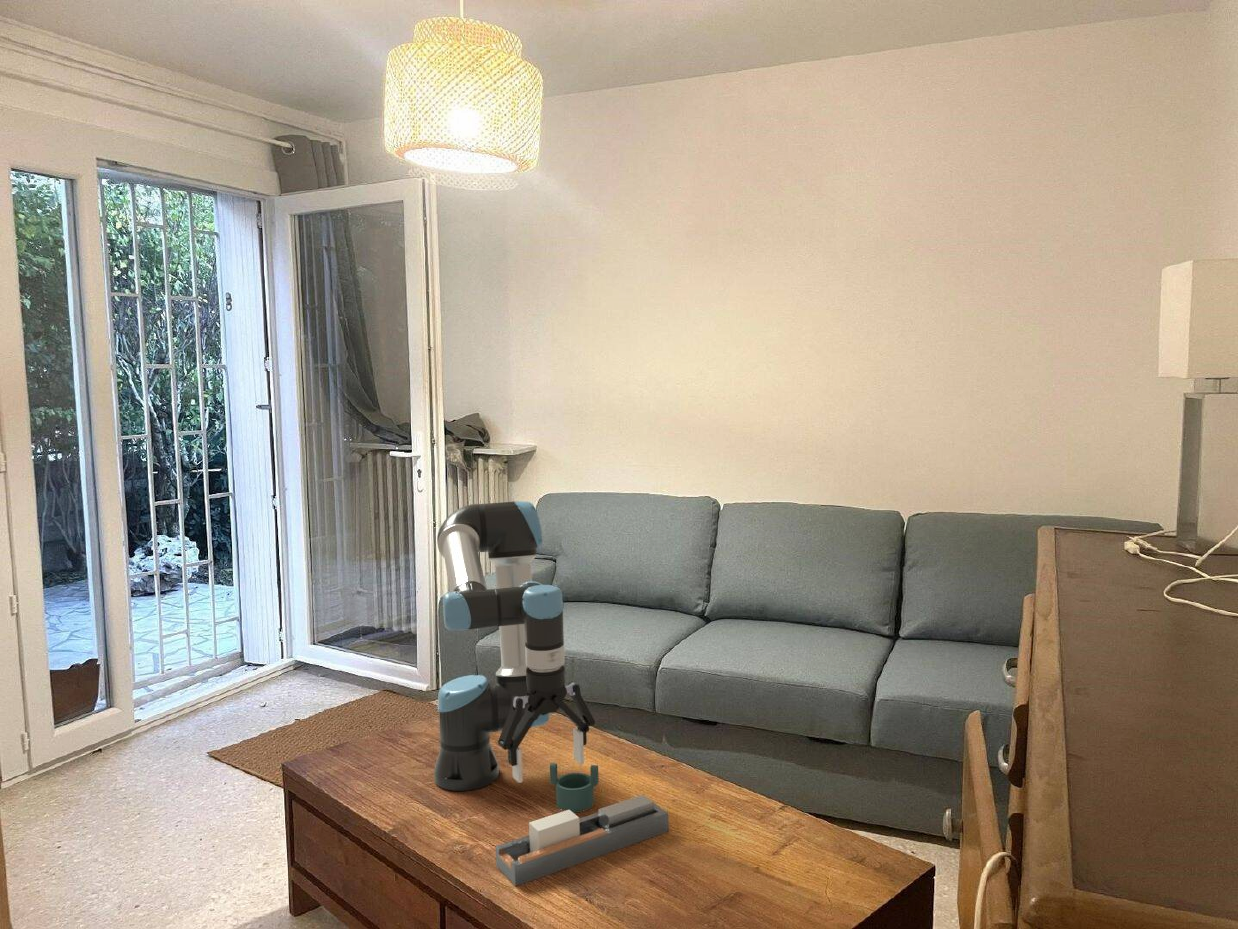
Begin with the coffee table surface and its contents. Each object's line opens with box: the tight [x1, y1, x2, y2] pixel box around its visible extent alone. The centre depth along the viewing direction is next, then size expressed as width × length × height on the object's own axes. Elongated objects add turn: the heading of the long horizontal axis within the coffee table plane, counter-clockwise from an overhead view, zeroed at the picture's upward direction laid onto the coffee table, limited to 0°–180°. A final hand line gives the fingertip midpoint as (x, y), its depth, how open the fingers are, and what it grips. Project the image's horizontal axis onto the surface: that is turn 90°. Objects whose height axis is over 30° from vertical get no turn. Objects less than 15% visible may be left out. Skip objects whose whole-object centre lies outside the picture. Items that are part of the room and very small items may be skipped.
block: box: [528, 810, 580, 853], centre depth 176 cm, size 4×9×8 cm, turn 123°
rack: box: [495, 794, 670, 887], centre depth 180 cm, size 8×35×6 cm, turn 122°
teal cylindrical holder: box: [549, 762, 600, 813], centre depth 199 cm, size 9×9×9 cm
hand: (548, 770), depth 177 cm, fingers open, 13 cm apart
